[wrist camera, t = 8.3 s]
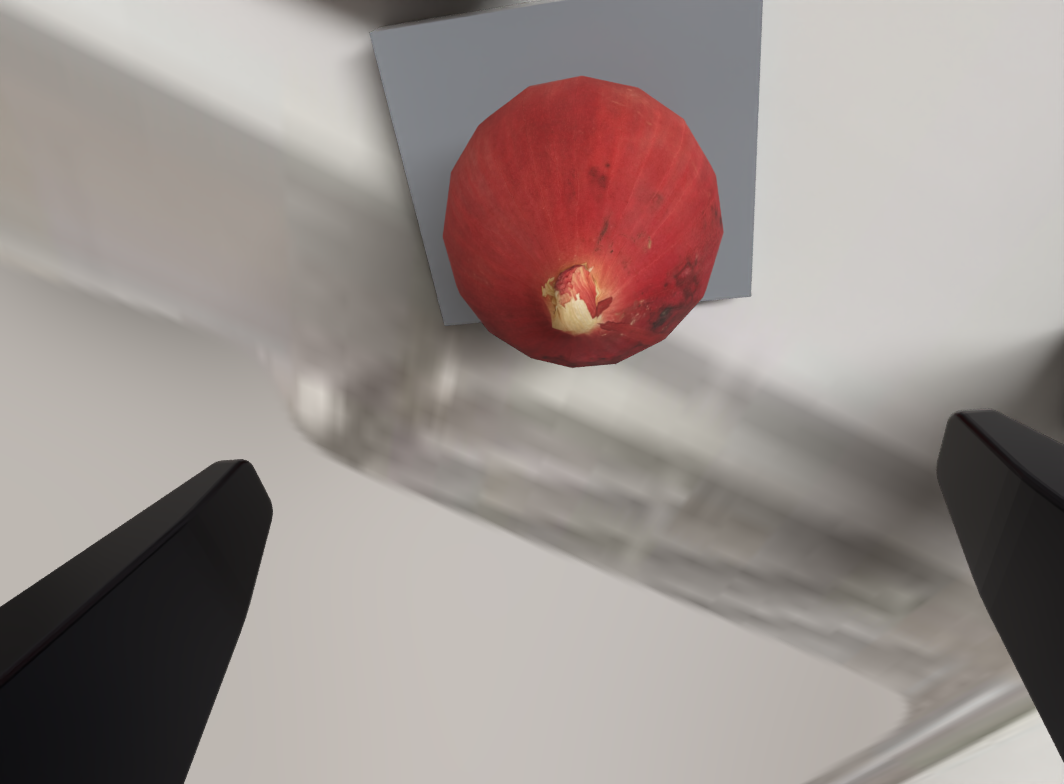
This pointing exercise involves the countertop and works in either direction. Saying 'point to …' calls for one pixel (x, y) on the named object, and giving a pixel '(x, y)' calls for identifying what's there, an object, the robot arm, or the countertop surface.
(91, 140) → the countertop surface
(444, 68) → the slate tile
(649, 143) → the onion
